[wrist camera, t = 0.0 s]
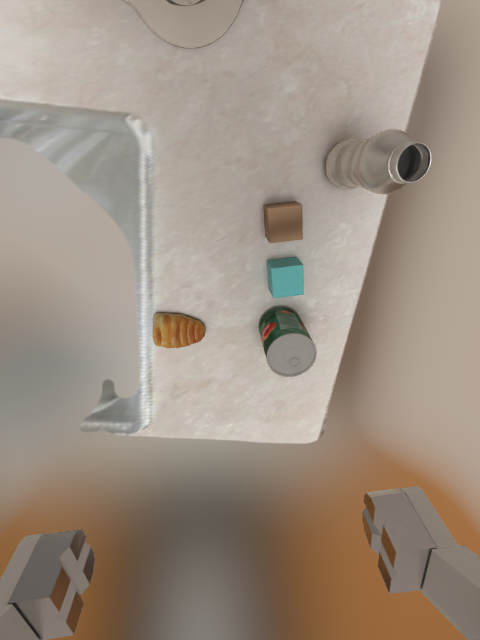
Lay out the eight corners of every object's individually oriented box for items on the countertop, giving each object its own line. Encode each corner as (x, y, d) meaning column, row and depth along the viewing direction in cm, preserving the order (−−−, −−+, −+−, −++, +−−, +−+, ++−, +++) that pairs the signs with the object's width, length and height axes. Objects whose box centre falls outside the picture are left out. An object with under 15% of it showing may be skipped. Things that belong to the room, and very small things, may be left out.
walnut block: (263, 204, 52) (267, 208, 47) (294, 201, 52) (301, 204, 47) (265, 236, 54) (269, 243, 49) (295, 233, 54) (302, 239, 49)
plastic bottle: (322, 191, 51) (379, 204, 33) (320, 143, 48) (382, 129, 30) (363, 184, 51) (442, 194, 33) (363, 136, 48) (451, 117, 30)
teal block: (267, 260, 56) (271, 268, 51) (296, 256, 56) (303, 264, 51) (268, 288, 58) (273, 298, 53) (296, 284, 58) (303, 294, 53)
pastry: (205, 311, 59) (205, 320, 56) (205, 344, 62) (204, 354, 58) (152, 310, 58) (148, 319, 55) (155, 343, 61) (151, 353, 58)
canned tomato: (252, 315, 60) (258, 345, 50) (292, 298, 59) (307, 325, 49) (267, 349, 63) (276, 383, 53) (305, 334, 62) (322, 366, 52)
